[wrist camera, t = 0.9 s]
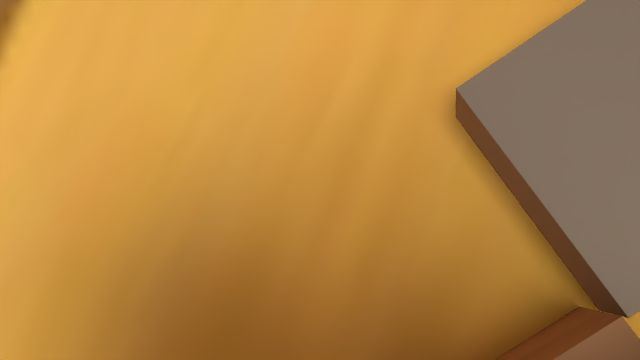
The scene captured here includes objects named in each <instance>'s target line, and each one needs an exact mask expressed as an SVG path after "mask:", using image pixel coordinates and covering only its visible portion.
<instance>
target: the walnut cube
mask: <svg viewBox="0 0 640 360" xmlns="http://www.w3.org/2000/svg"><path fill="white" fill-rule="evenodd" d="M496 360H640V339H639V338H638V337H637V335H636V334H635V333H634V332H633V330H632V329H631V328H630V326H629V325H628V324H627V323H626V321H625V320H624V319H623V317H622V316H618V315H613V314H609V313H605V312H600V311H596V310H591V309H587V308H583V307H578V308H576V309H575V310H573V311H571V312H570V313H568V314H567V315H565V316H564V317H562V318H560V319H559V320H557V321H556V322H554V323H553V324H551V325H549V326H548V327H546V328H545V329H543V330H542V331H540V332H538V333H537V334H535V335H534V336H532V337H531V338H529V339H527V340H526V341H524V342H523V343H521V344H520V345H518V346H516V347H515V348H513V349H512V350H510V351H509V352H507V353H505V354H504V355H502V356H501V357H499V358H498V359H496Z"/></svg>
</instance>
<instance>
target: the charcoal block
mask: <svg viewBox="0 0 640 360" xmlns="http://www.w3.org/2000/svg"><path fill="white" fill-rule="evenodd" d="M456 118H457V119H458V120H459V122H460V123H461V124H462V126H463V127H464V129H465V130H466V131H467V133H468V134H469V135H470V137H471V138H472V139H473V141H474V142H475V143H476V145H477V146H478V147H479V149H480V150H481V151H482V153H483V154H484V156H485V157H486V158H487V160H488V161H489V162H490V164H491V165H492V166H493V168H494V169H495V170H496V172H497V173H498V174H499V176H500V177H501V178H502V180H503V181H504V182H505V184H506V185H507V187H508V188H509V189H510V191H511V192H512V193H513V195H514V196H515V197H516V199H517V200H518V201H519V203H520V204H521V205H522V207H523V208H524V209H525V211H526V212H527V214H528V215H529V216H530V218H531V219H532V220H533V222H534V223H535V224H536V226H537V227H538V228H539V230H540V231H541V232H542V234H543V235H544V236H545V238H546V239H547V241H548V242H549V243H550V245H551V246H552V247H553V249H554V250H555V251H556V253H557V254H558V255H559V257H560V258H561V259H562V261H563V262H564V263H565V265H566V266H567V268H568V269H569V270H570V272H571V273H572V274H573V276H574V277H575V278H576V280H577V281H578V282H579V284H580V285H581V286H582V288H583V289H584V290H585V292H586V293H587V294H588V296H589V297H590V299H591V300H592V301H593V303H594V304H595V305H596V307H597V308H598V309H599V311H602V312H607V313H611V314H615V315H619V316H623V317H628V318H629V317H631V316H632V315H634V314H636V313H637V312H639V311H640V0H587V1H585V2H584V3H582V4H581V5H579V6H578V7H576V8H575V9H573V10H572V11H570V12H569V13H567V14H566V15H564V16H563V17H561V18H560V19H559V20H557V21H556V22H554V23H553V24H551V25H550V26H548V27H547V28H545V29H544V30H542V31H541V32H539V33H538V34H536V35H535V36H533V37H532V38H530V39H529V40H527V41H526V42H524V43H523V44H522V45H520V46H519V47H517V48H516V49H514V50H513V51H511V52H510V53H508V54H507V55H505V56H504V57H502V58H501V59H499V60H498V61H496V62H495V63H493V64H492V65H490V66H489V67H487V68H486V69H484V70H483V71H482V72H480V73H479V74H477V75H476V76H474V77H473V78H471V79H470V80H468V81H467V82H465V83H464V84H462V85H461V86H459V87H458V88H456Z"/></svg>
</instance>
